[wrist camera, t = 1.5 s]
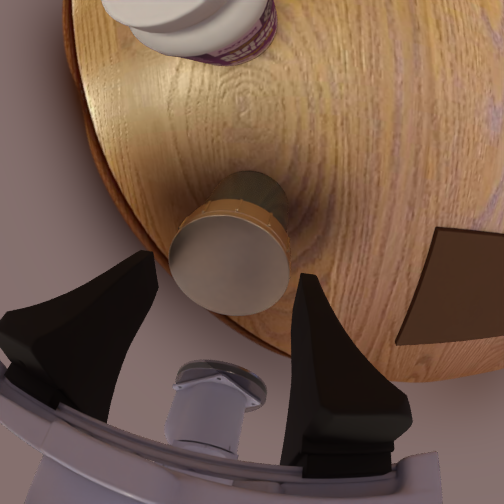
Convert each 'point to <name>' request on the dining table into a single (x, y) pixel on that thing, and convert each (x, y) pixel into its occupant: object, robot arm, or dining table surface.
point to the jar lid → (231, 257)
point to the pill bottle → (200, 27)
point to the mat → (458, 290)
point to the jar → (254, 193)
